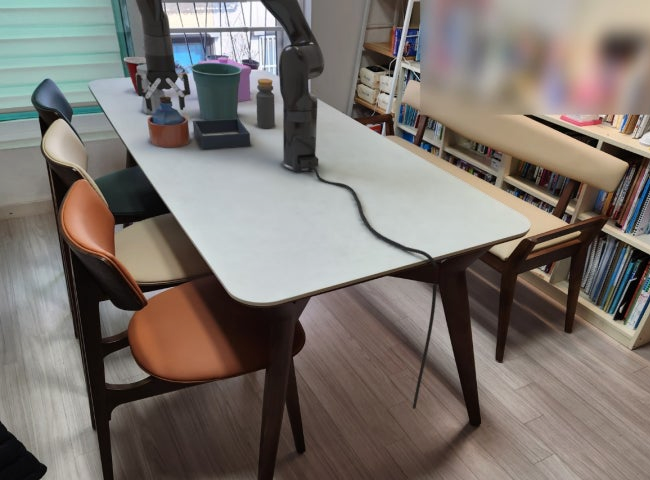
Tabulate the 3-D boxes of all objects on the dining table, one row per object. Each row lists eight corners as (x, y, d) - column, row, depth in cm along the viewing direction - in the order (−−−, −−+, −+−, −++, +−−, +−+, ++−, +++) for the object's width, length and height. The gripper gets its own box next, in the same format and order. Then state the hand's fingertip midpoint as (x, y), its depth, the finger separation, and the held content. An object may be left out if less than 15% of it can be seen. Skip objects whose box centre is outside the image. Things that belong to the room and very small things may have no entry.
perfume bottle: (173, 133, 163) (168, 93, 156) (185, 138, 160) (180, 98, 153) (155, 137, 159) (149, 97, 152) (167, 143, 156) (161, 102, 149)
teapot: (182, 95, 199) (178, 55, 191) (242, 88, 213) (240, 51, 205) (201, 106, 189) (197, 65, 182) (261, 98, 204) (260, 60, 196)
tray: (250, 146, 162) (249, 133, 160) (202, 149, 156) (201, 136, 154) (239, 130, 173) (238, 118, 170) (193, 133, 167) (192, 120, 165)
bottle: (276, 124, 181) (276, 79, 172) (272, 129, 176) (271, 83, 168) (260, 122, 181) (258, 77, 173) (255, 127, 176) (253, 81, 168)
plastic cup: (166, 93, 199) (162, 59, 192) (142, 98, 191) (136, 63, 184) (147, 86, 203) (142, 53, 196) (122, 91, 195) (116, 57, 189)
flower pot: (234, 107, 192) (231, 61, 183) (251, 121, 181) (249, 73, 172) (188, 111, 184) (183, 63, 175) (203, 126, 173) (199, 75, 164)
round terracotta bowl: (192, 145, 158) (190, 124, 154) (153, 148, 154) (149, 126, 150) (186, 133, 166) (184, 112, 163) (148, 135, 162) (145, 114, 158)
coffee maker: (176, 114, 180) (170, 59, 170) (151, 118, 174) (143, 61, 164) (157, 102, 188) (150, 49, 178) (133, 106, 183) (124, 51, 173)
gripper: (132, 54, 140) (141, 115, 149) (187, 54, 146) (193, 112, 155) (129, 48, 146) (139, 107, 155) (183, 48, 151) (189, 105, 160)
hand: (166, 109), depth 155 cm, fingers open, 8 cm apart
